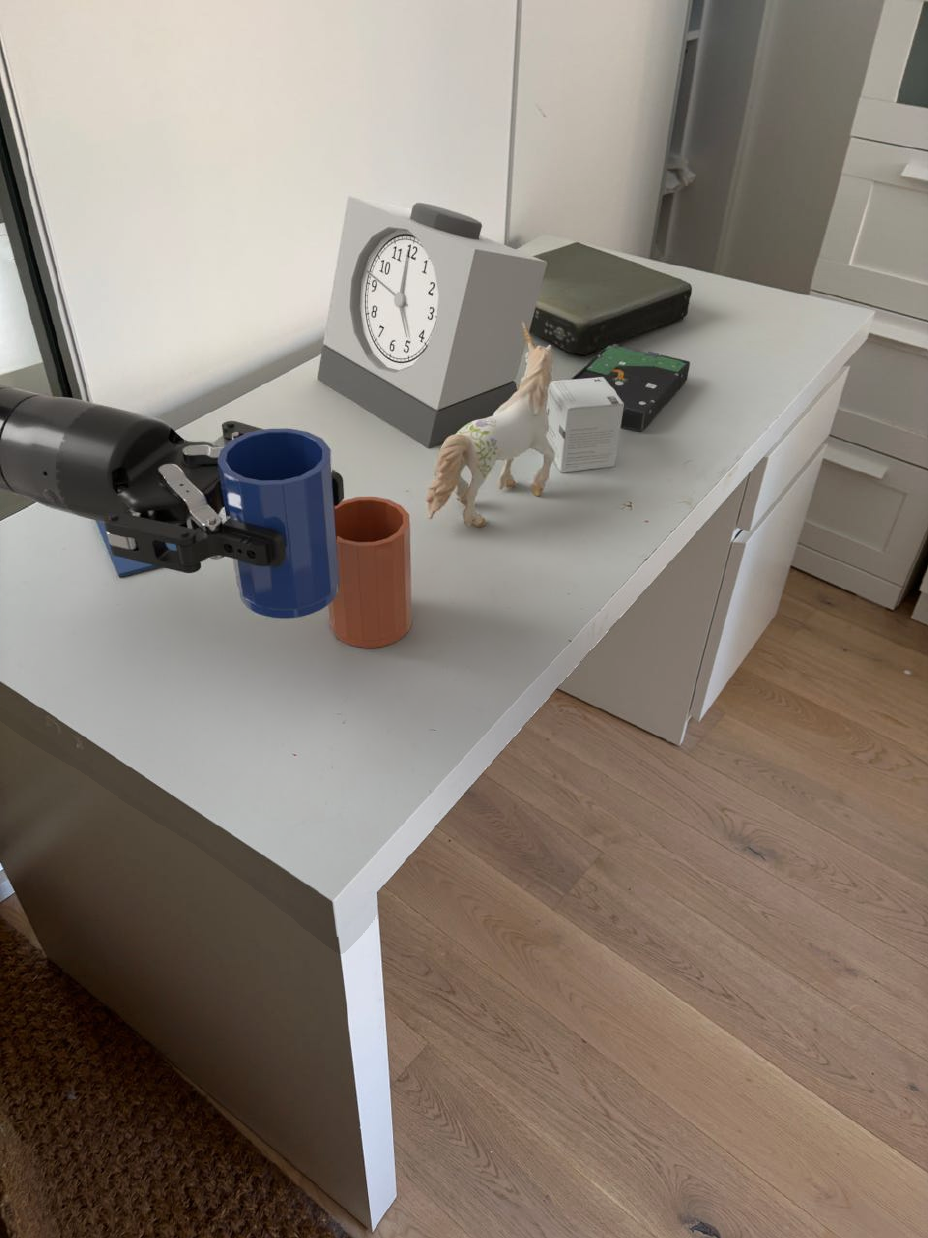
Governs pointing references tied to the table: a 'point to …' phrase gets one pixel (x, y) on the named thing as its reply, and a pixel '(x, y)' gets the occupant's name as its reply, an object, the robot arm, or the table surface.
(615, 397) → the product carton
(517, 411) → the unicorn figurine
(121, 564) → the blue mat
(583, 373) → the disk drive
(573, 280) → the network switch
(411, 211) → the alarm clock
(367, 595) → the terracotta cup
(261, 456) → the blue cup
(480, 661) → the table surface
